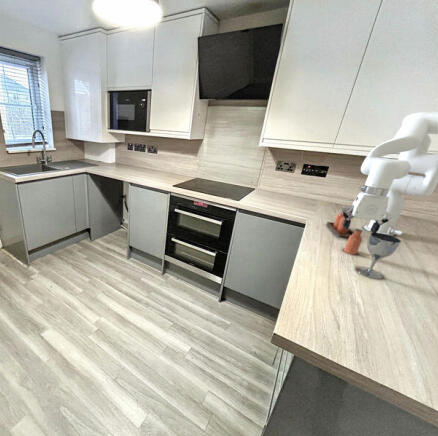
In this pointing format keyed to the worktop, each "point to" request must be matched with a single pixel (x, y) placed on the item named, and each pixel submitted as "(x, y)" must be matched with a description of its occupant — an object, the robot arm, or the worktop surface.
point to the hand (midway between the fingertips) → (358, 230)
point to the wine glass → (379, 251)
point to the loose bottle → (354, 242)
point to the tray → (340, 235)
